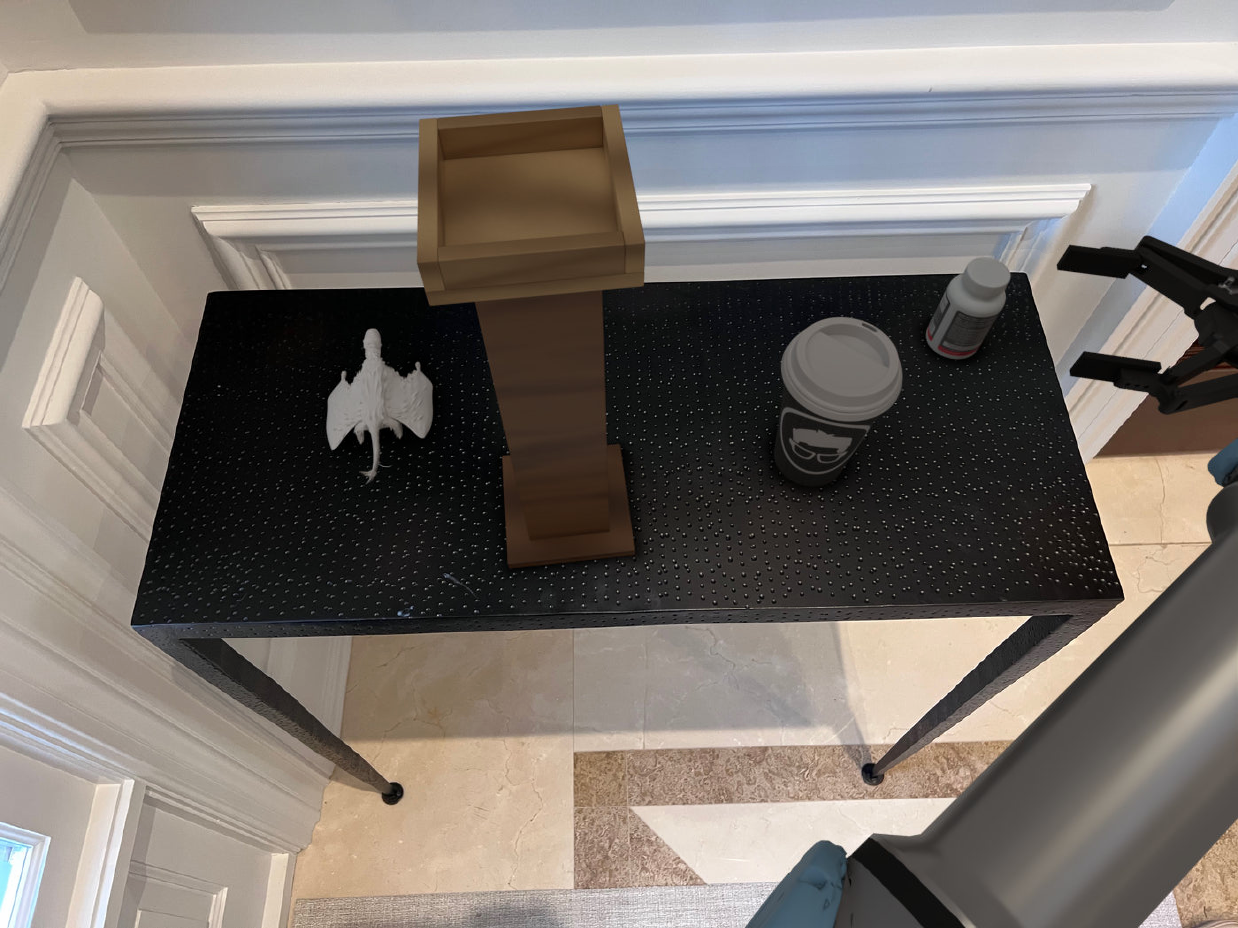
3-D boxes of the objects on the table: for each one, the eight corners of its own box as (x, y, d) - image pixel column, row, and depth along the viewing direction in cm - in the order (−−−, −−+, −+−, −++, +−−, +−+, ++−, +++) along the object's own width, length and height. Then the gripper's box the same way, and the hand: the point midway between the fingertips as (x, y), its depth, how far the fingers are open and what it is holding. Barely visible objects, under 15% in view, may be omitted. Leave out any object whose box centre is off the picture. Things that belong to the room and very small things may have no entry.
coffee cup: (881, 472, 73) (936, 372, 60) (798, 518, 71) (837, 425, 58) (818, 400, 77) (856, 292, 65) (737, 441, 75) (761, 338, 62)
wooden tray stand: (635, 554, 69) (645, 242, 38) (509, 569, 68) (416, 263, 37) (619, 449, 75) (618, 103, 44) (503, 461, 74) (418, 118, 43)
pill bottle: (988, 345, 81) (1031, 277, 73) (952, 369, 79) (991, 302, 71) (949, 313, 83) (986, 243, 75) (913, 335, 82) (946, 266, 73)
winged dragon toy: (438, 494, 72) (428, 471, 69) (325, 509, 71) (309, 487, 68) (431, 343, 81) (422, 316, 78) (331, 355, 81) (317, 328, 77)
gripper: (1306, 217, 76) (1076, 188, 78) (1383, 429, 63) (1105, 388, 65) (1253, 273, 82) (1041, 246, 84) (1313, 476, 69) (1062, 437, 72)
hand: (1069, 308), depth 75 cm, fingers open, 13 cm apart
